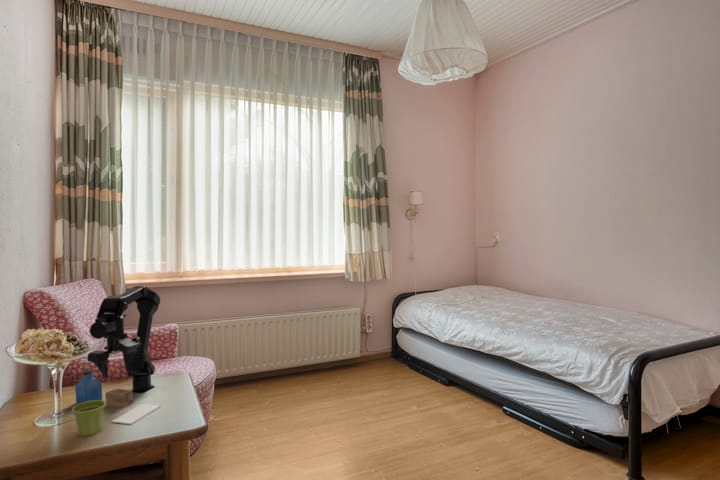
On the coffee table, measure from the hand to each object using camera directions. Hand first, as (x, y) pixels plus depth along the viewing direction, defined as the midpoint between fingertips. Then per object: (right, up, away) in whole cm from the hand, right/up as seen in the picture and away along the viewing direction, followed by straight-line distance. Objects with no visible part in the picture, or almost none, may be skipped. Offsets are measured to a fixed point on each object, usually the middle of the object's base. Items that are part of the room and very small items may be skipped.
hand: (117, 373), depth 160 cm
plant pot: (+1, -14, -17) cm, 22 cm away
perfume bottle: (-15, -13, +7) cm, 21 cm away
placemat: (+10, -13, -5) cm, 17 cm away
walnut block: (-1, -13, +4) cm, 13 cm away
